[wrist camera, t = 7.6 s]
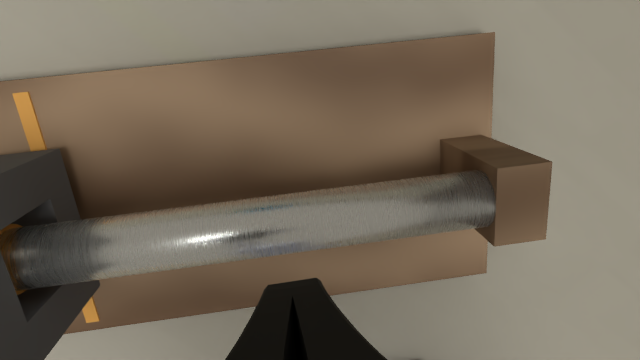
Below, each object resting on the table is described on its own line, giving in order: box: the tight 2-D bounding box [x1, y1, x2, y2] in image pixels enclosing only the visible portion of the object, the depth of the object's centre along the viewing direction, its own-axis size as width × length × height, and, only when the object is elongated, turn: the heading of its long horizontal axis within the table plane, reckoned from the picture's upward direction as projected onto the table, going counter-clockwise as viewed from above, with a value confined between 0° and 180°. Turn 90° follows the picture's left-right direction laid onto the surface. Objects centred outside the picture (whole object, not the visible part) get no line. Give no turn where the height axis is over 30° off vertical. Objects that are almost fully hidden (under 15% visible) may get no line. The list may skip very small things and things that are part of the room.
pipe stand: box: [0, 32, 552, 334], centre depth 16 cm, size 12×27×6 cm, turn 95°
